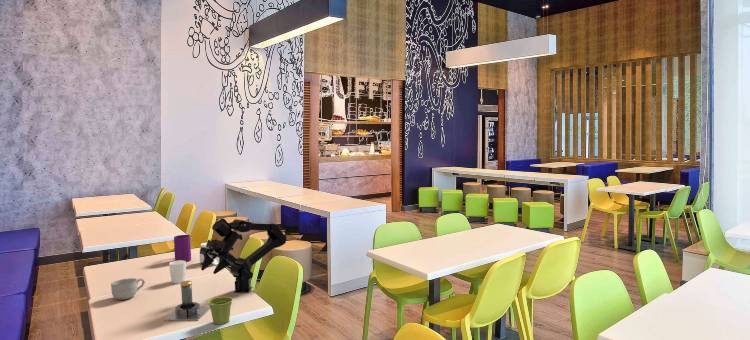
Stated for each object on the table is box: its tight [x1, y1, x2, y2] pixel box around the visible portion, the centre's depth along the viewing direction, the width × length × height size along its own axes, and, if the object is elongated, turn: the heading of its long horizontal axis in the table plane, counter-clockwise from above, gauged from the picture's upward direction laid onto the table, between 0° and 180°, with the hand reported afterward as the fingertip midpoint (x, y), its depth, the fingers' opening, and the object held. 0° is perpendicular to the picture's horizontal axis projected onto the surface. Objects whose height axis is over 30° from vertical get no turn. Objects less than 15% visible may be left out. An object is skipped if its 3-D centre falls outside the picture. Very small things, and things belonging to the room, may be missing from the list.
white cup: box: [168, 260, 187, 284], centre depth 241 cm, size 8×8×10 cm
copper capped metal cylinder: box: [179, 280, 194, 309], centre depth 196 cm, size 4×4×13 cm
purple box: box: [173, 234, 192, 263], centre depth 284 cm, size 9×16×15 cm, turn 34°
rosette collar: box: [162, 301, 211, 322], centre depth 197 cm, size 14×14×4 cm
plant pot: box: [207, 296, 234, 325], centre depth 188 cm, size 9×9×9 cm
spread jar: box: [199, 242, 219, 266], centre depth 274 cm, size 12×11×12 cm
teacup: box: [110, 277, 146, 301], centre depth 219 cm, size 14×11×8 cm
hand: (207, 271), depth 211 cm, fingers open, 9 cm apart
